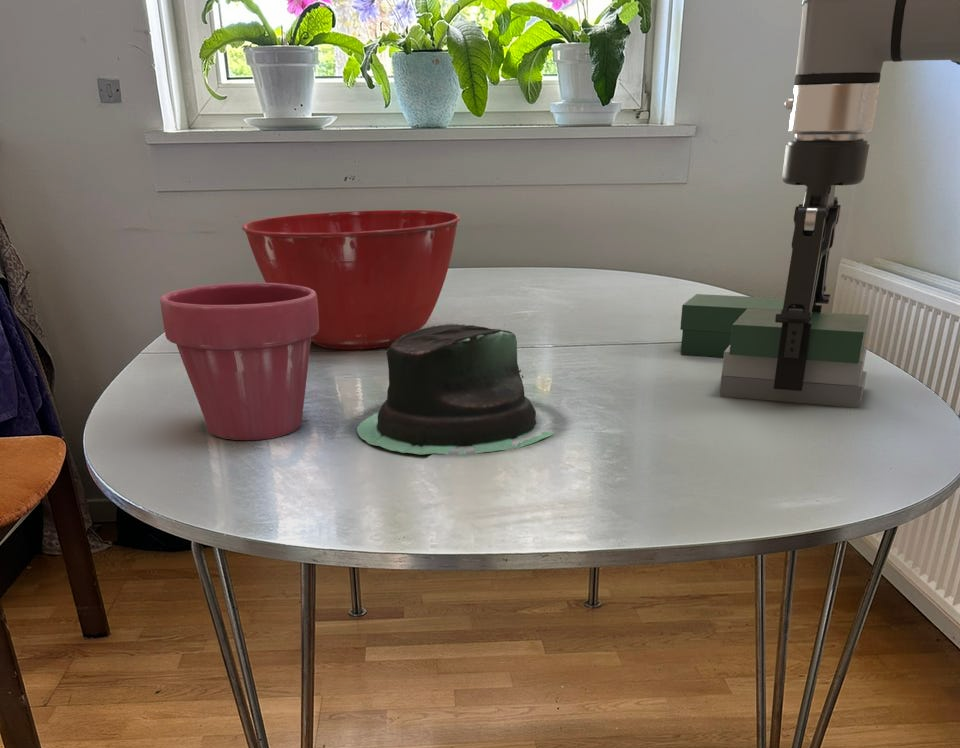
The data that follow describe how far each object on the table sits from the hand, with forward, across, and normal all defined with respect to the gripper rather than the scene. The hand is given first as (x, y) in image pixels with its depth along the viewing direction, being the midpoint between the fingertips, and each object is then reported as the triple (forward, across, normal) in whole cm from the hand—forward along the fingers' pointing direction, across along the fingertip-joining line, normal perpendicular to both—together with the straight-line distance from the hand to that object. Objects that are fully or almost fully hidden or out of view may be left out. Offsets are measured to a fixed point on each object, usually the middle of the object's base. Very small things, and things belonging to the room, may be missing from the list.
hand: (793, 377), depth 100 cm
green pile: (+2, -21, -9) cm, 23 cm away
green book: (-3, 0, 0) cm, 3 cm away
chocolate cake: (+2, +22, -29) cm, 36 cm away
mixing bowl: (+2, -12, -59) cm, 60 cm away
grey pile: (+2, 0, 0) cm, 2 cm away
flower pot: (+2, +29, -48) cm, 56 cm away
